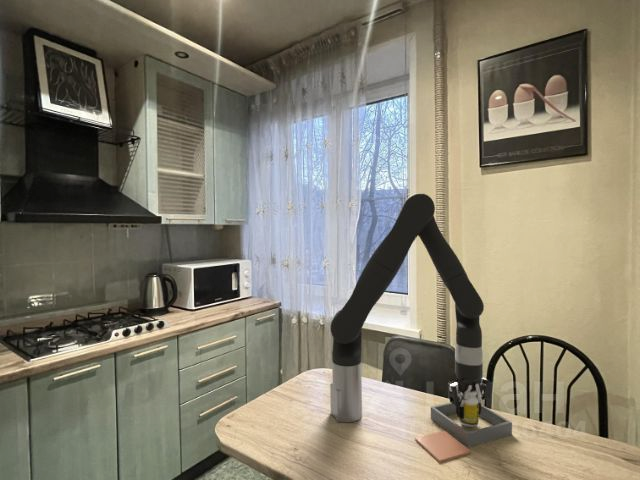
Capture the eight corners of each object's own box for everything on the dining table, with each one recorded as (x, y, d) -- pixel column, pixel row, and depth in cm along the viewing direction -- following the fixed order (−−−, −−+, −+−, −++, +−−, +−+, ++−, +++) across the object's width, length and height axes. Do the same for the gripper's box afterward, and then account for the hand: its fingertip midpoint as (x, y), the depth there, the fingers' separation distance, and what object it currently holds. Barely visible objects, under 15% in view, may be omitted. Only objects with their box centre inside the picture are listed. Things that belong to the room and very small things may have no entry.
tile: (439, 462, 86) (439, 460, 86) (415, 440, 95) (415, 438, 95) (471, 453, 89) (471, 451, 89) (444, 432, 99) (444, 430, 99)
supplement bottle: (480, 428, 99) (480, 394, 98) (460, 426, 100) (460, 393, 100) (476, 418, 104) (476, 386, 104) (457, 416, 105) (457, 384, 105)
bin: (468, 447, 92) (468, 434, 92) (430, 417, 106) (430, 406, 106) (511, 434, 97) (511, 422, 97) (470, 408, 112) (470, 397, 112)
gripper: (477, 352, 107) (477, 405, 108) (440, 358, 102) (440, 414, 103) (497, 360, 100) (497, 417, 101) (458, 367, 95) (458, 427, 96)
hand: (468, 415), depth 102 cm, fingers closed on supplement bottle, 5 cm apart
